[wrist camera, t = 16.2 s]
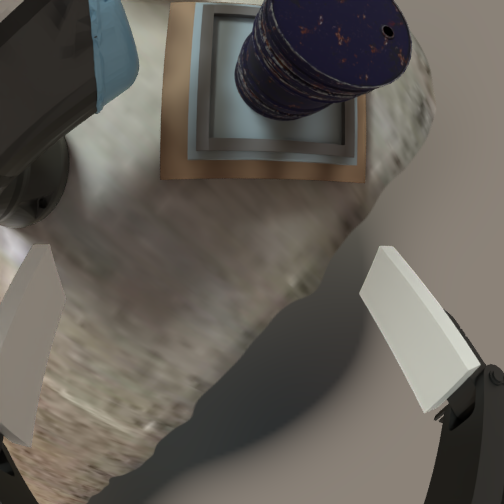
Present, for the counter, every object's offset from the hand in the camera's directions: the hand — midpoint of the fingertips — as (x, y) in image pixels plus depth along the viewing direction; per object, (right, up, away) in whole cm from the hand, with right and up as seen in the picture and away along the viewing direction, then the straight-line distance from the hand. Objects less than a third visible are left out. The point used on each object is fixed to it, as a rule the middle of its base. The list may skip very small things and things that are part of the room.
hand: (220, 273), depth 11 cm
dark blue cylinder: (+4, +19, +16) cm, 25 cm away
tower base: (+3, +20, +22) cm, 31 cm away
